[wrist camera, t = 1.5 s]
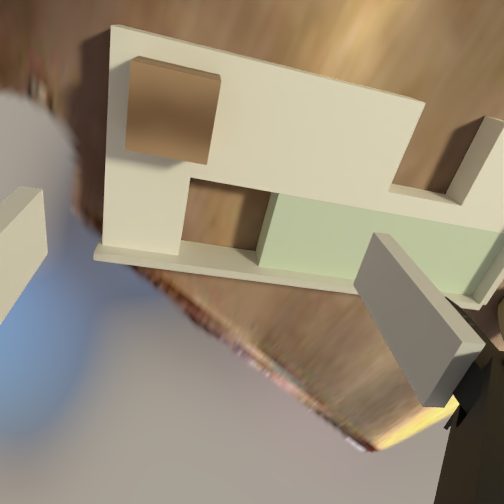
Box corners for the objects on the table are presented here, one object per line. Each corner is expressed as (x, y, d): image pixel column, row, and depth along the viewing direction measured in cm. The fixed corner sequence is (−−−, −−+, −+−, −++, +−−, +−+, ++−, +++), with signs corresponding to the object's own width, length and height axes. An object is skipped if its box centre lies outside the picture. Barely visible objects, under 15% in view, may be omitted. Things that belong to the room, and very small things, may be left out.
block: (138, 55, 28) (130, 59, 25) (219, 74, 29) (221, 81, 26) (132, 137, 31) (124, 149, 28) (206, 151, 32) (206, 165, 29)
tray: (113, 23, 29) (99, 24, 26) (553, 132, 38) (592, 145, 34) (104, 236, 39) (93, 260, 35) (459, 286, 47) (482, 310, 43)
